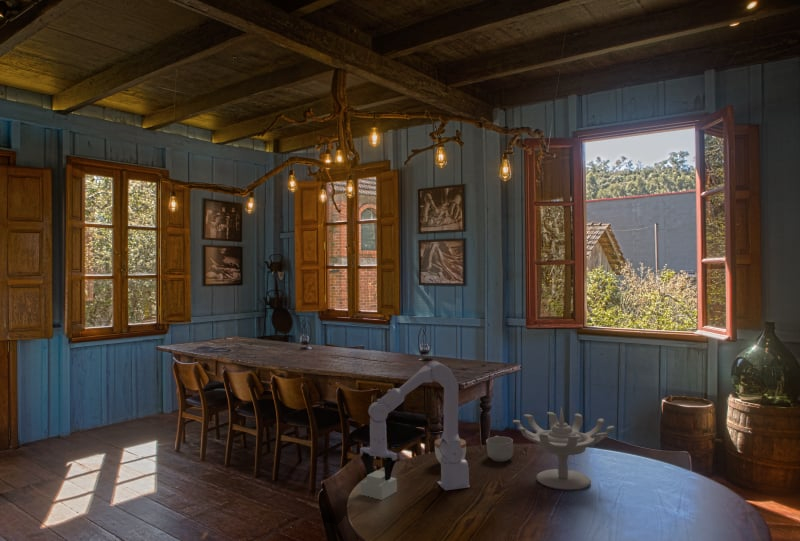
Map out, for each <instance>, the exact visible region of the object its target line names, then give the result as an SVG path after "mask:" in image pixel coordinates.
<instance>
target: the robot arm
mask: <svg viewBox="0 0 800 541" xmlns="http://www.w3.org/2000/svg"><path fill="white" fill-rule="evenodd" d="M433 380H434V381H435V382H437V383H438V384H439V385H440V386H441V387H442V388H443V432H442V434H441V438H442V439H441V442H440V444H439V450H440V452H441V453H442V457H441V463H440V480H438V481H436V482H437V484H438V485H439V486H440V487H441V488H442V489H443V490H444V491H450V490H452V491H453V490H458V489H465V488H470V487H471V486H470V470H469V468H470V467H469V464H468V461H467V460H466V459H465V458H464V459H462V457H463V450H462V448H461V442H460V439H461V437H460V436H459V382H458V380H457V378H456V377H455V375H454V374H453V372H452V369H451V368H450V367H448V366H447V365H445V364H443V363H440V362H439V361H438V360H431V361H429V362H428V363H427V364H426V365H424V366H422V367H421V368H420V369H419V370H418V371H417V372H416V373H414V375H412V376H411V377H410V378H409V379H408V380H407V381H406V382H404V383H403V384H402V385H401V386H400V387H399V388H398V387H396V388H395V387H394V388H392V389H391V388H389V389H388V390H387V392H386V393H385V394H384V395H383V396H381V397H380V398H377V399H376V401H374V402H372V403H371V404H370V405H369V406H368V410H367V413H368V415H369V417H370V418H369V447H366V446H362V447H360V448H359V453H360V454H361V456H360V460H361V461H362V464H363V466H364V468H365V471H366V476H367V475H369V474H371V473H373V472H374V459H375V457H379V458H383V459H384V460H382V464H383V468H384V472H385V480H386V481H388V480H389V479H390V478H391V477H392V473H393V470H394V466H395V465H396V462H397V459H398V453H397V452H393V451H392V450H388V448H387V445H388V444H387V423H386V422H387V421H386V420H387V418H388V415H389V413H391V412H392V411H394V410H395V409H396V408H397V407H398V406H400V405H401V404H402V403H403V402H404V401H405V398H406V396H407V395H408V394H409V393H410V392H412V391H414V390H415V389H416V388H418V387H419V386H420V385H422V384H423V383H433Z"/></svg>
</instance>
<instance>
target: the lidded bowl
mask: <svg viewBox="0 0 800 541" xmlns="http://www.w3.org/2000/svg"><path fill="white" fill-rule="evenodd" d="M441 439H442V437H441V438H438V439H435V440H434V443H433V444H434V452H435V457H436V460H437V461H438V463H439V464H441V457H442V453H441V452H440V450H439V444H440V442H441ZM460 442H461V448H462V450H463V457H462V459H465V458H466V454H467V441H466V440H465V439H462V438H460Z"/></svg>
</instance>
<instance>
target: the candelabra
mask: <svg viewBox="0 0 800 541" xmlns="http://www.w3.org/2000/svg"><path fill="white" fill-rule="evenodd" d="M546 415H548V422H549V429H546V430H545V429H543V428H541V427H540V426H539V425H538V424H537V423H536V421H535V419H534V415H531V414H528V413H527V414H523V415H522V416H523V417H524V418H527V421H528V424H529V426H530V427H531V428H532V429H533V431H534V432H535V433H534V432H532V431H529V430H528V429H527V428H525V427H523V425H522V424H521V420H519V419H514V420H512V423H514V424H518V427H517V428H518V430H519V431H520V432H521V434H522V436H523V437H524V438H526V439H528V440H529V441H531V442H534V443H536V444H538V445H539V447H540V449H541V451H544V452H546V453H548V454H552V455H556V456H557V460H558V465H557V466H558V467H557V468H554V469H551V468H550V469H545V470H543V471H540V472H539V473H537V474H536V477H535V478H536V480H537V481H538V483H539V484H541V485H543V486H546V487H547V488H551V489H556V490H564V491H576V490H582V489H584V488H588V486H590V485H591V482H592V479H591V478H590V477H589V476H588V475H586V474H585V473H582V472H579V471H577V470H572V469H569V466H568V459H569V456H575V455H576V456H577V455H581V454H583V453H584V452H585V451H586V448H589V447H592V446H594V445H596V444H598V443H600V441H602V440H604V439H606V438H607V437H608V435H609V434H610V432H609V431H612V430H614V429H615V426H614V425H609V426H606V431H605V432H601V431H602V428H603V423H605V422H604V421H605V419H604V418H598V419H597V421H596V425H595V427H593V428H592V429H591V430H589V431H587V432H585V433H584V432H580V431H581V428H582V427H583V421H584V419H583V415H582V414H580V413H574V421H573V424H572V426H571V425H568V423H567V422H565V418H564V413H563V407H562V406H560V413H559V418H558V414H556V413H555V412H552V411H547V412H546Z"/></svg>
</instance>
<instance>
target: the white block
mask: <svg viewBox="0 0 800 541" xmlns="http://www.w3.org/2000/svg"><path fill="white" fill-rule="evenodd" d="M359 484H360V486H359V487H360V488H359V489H360V496H364V495H365V497H368V496H369V498H372V497H373V498H372V499H377V500H381V501H382V500H385V499H387V498H388V497H390V496H391V495H394V493H396V492H398V478H396V477H392V476H391V478H390V479H389V480H388V481H386V480H385V471H382V470H375V471H373V473H371V474H369V475H367V474H366V478H365V479H363V480H361V481H360V483H359Z"/></svg>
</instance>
